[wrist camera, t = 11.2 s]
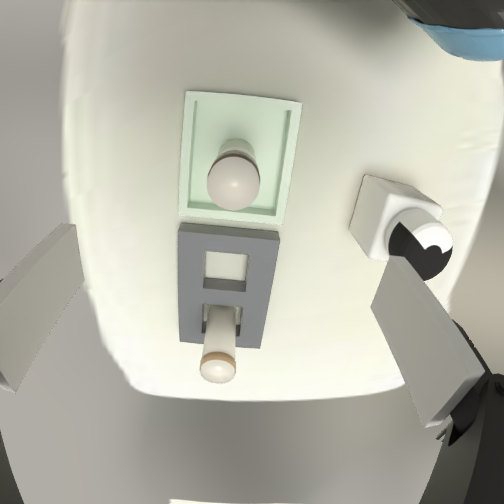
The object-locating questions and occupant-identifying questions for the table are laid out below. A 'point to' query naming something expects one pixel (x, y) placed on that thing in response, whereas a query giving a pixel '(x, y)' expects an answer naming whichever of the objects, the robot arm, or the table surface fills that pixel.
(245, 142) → the fuse
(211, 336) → the cylinder
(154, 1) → the table surface
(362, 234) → the container
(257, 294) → the fuse block
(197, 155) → the parts tray
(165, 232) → the table surface
